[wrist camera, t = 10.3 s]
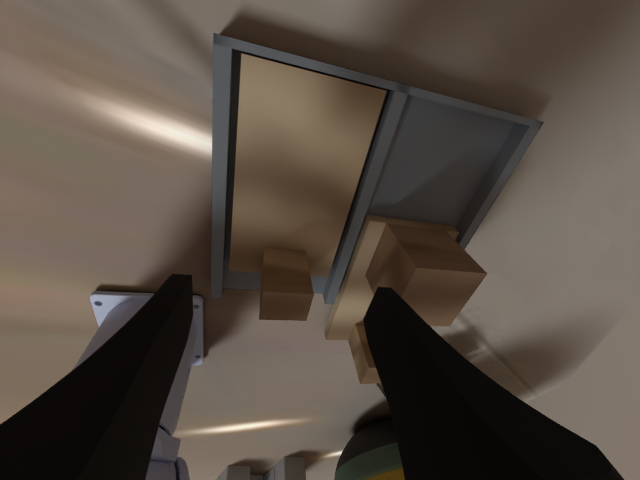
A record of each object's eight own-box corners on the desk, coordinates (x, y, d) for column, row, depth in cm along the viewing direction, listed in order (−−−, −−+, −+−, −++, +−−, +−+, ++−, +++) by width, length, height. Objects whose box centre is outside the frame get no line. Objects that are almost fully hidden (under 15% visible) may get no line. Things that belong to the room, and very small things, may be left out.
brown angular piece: (392, 332, 29) (414, 381, 25) (324, 331, 27) (334, 384, 23) (452, 225, 22) (497, 268, 18) (365, 214, 20) (392, 259, 16)
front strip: (326, 269, 23) (339, 321, 18) (230, 262, 21) (220, 318, 16) (380, 88, 16) (424, 104, 11) (243, 53, 14) (230, 54, 9)
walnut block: (418, 278, 24) (449, 326, 20) (365, 274, 22) (386, 324, 18) (445, 230, 21) (487, 273, 17) (386, 223, 20) (416, 267, 16)
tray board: (420, 296, 27) (428, 307, 26) (214, 285, 23) (210, 298, 21) (525, 117, 18) (543, 122, 17) (218, 34, 14) (213, 33, 12)
